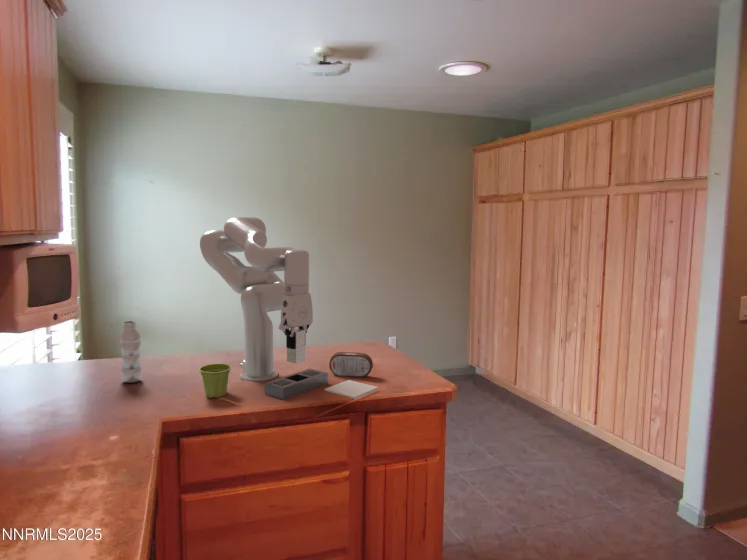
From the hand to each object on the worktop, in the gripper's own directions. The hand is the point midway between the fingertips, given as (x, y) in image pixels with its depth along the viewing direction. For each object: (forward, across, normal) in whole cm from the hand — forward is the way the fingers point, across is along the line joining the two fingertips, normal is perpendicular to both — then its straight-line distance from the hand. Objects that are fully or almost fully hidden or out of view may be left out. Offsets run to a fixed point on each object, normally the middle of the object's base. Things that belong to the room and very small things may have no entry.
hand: (296, 346), depth 169 cm
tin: (+14, +22, -5) cm, 27 cm away
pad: (+14, +10, -15) cm, 23 cm away
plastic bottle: (+15, -28, +47) cm, 57 cm away
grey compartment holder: (+14, 0, -1) cm, 14 cm away
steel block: (+5, 0, 0) cm, 5 cm away
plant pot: (+15, -19, +15) cm, 28 cm away
